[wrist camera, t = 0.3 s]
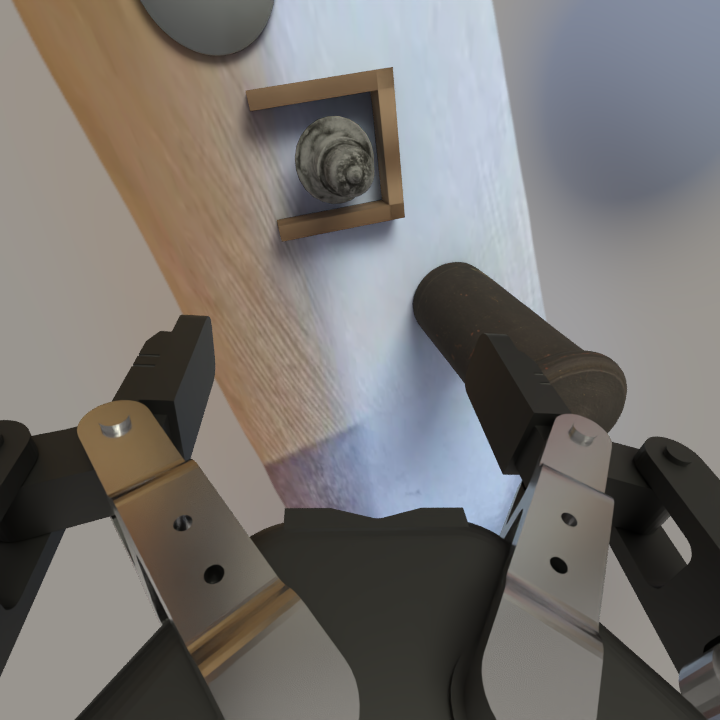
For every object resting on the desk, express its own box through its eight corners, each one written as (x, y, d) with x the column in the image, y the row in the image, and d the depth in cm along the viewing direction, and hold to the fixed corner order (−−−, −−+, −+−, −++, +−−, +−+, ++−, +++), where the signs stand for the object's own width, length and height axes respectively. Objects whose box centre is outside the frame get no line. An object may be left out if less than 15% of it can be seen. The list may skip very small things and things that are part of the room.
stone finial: (276, 152, 33) (283, 170, 23) (332, 97, 32) (366, 90, 22) (325, 210, 36) (350, 250, 26) (378, 162, 35) (426, 183, 25)
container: (464, 348, 46) (581, 484, 29) (394, 323, 43) (480, 461, 26) (507, 277, 43) (667, 385, 26) (434, 245, 39) (564, 345, 23)
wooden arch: (246, 92, 31) (245, 90, 28) (383, 70, 32) (392, 67, 29) (280, 234, 36) (281, 241, 34) (396, 211, 37) (404, 217, 35)
